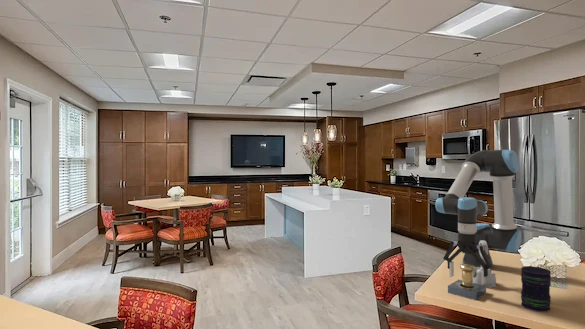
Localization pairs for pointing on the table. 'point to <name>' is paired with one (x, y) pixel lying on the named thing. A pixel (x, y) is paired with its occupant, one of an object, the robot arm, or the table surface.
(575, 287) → the table surface
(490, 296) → the table surface
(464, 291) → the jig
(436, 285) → the table surface
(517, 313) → the table surface
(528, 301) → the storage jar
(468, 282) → the brass flared knob
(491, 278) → the engine component
